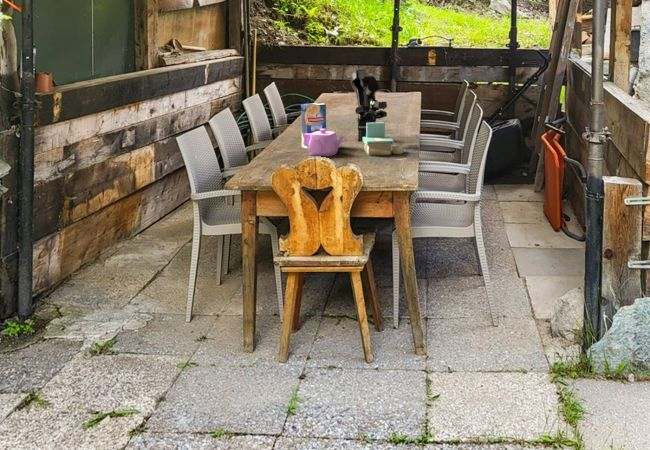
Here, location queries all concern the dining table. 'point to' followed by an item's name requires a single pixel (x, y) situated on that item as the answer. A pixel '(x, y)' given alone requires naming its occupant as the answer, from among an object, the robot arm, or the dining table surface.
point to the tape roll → (397, 149)
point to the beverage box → (312, 118)
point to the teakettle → (322, 143)
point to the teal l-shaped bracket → (376, 134)
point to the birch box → (378, 148)
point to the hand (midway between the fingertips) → (372, 128)
